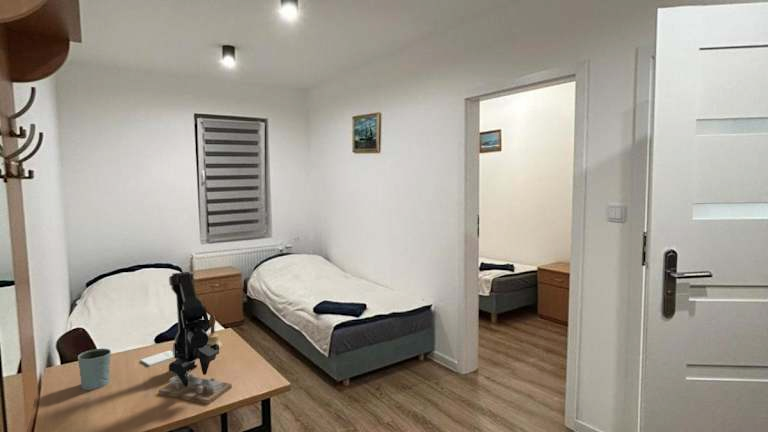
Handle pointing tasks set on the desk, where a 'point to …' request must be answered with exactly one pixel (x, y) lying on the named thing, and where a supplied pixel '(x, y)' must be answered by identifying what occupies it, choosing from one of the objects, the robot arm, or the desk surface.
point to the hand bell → (213, 332)
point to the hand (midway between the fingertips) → (195, 380)
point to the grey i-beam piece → (199, 384)
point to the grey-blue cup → (94, 368)
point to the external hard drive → (158, 358)
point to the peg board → (194, 392)
